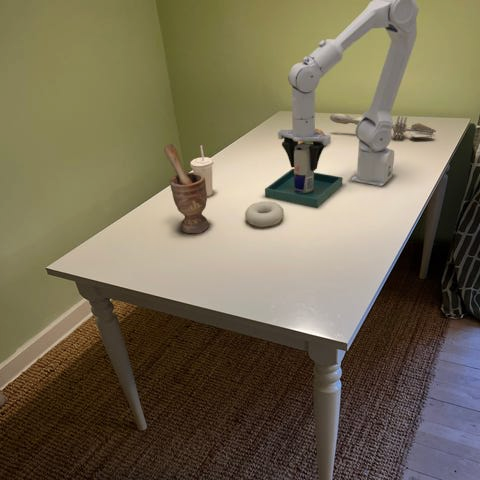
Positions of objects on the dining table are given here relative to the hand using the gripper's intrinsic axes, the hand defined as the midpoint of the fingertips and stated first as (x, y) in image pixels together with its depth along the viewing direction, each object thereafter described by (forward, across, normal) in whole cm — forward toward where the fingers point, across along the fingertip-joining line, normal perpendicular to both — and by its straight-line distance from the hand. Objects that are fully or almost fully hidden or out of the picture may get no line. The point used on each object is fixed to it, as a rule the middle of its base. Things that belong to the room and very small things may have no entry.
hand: (303, 167), depth 131 cm
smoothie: (+7, -25, -13) cm, 29 cm away
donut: (+7, -1, -19) cm, 20 cm away
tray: (+7, 0, 0) cm, 7 cm away
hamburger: (+7, -17, +33) cm, 38 cm away
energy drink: (+7, 0, 0) cm, 7 cm away
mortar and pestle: (+7, -17, -30) cm, 35 cm away
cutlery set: (+7, +3, +47) cm, 48 cm away
